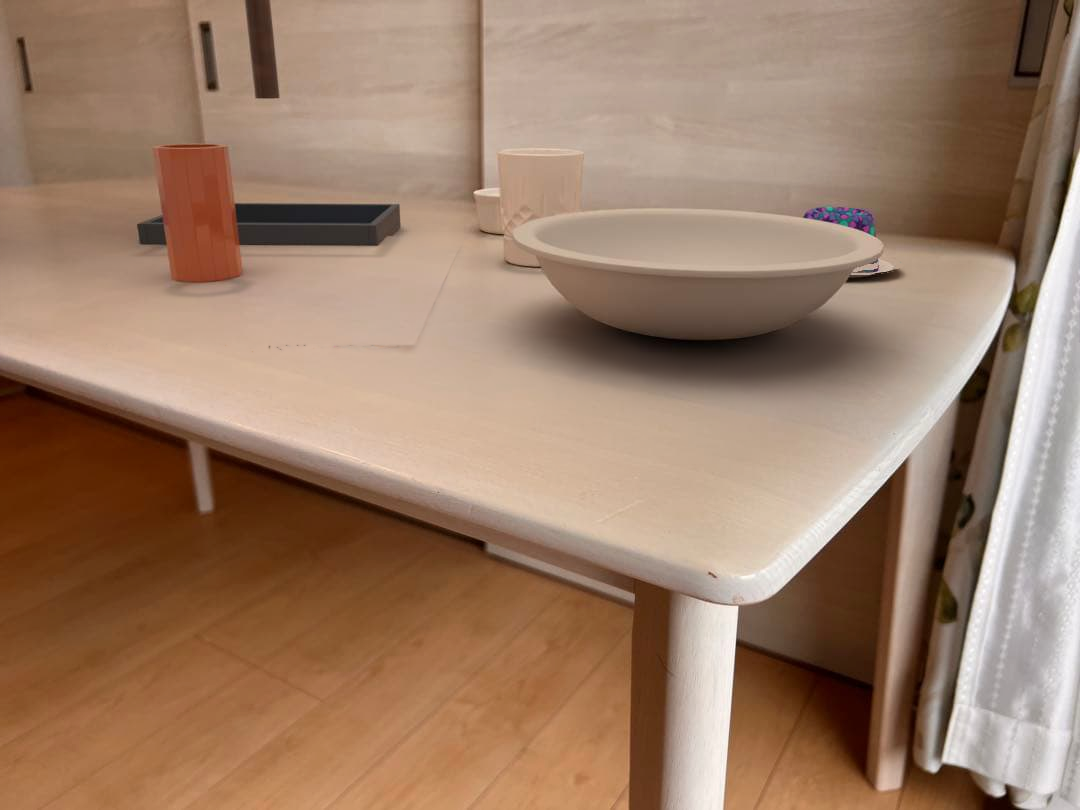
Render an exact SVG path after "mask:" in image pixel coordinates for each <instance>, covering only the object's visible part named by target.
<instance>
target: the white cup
mask: <svg viewBox="0 0 1080 810" xmlns="http://www.w3.org/2000/svg"><path fill="white" fill-rule="evenodd" d="M584 158H585V152H584V151H582V150H577V149H570V148H569V149H567V148H545V147H543V148H540V147H538V148H533V147H531V148H529V147H528V148H526V147H525V148H507V149H500V150H498V151H497V166H498V188H499V189H500V207H501V213H502V217H501V222H502V229H503V233H504V234H503V258H504V260H505V261H506V262H508V264H512V265H516V266H522V267H538V268H539V267H540V268H541V266H540V265H539V263H538V260H537V258H536V256H535V255H533V254H530V253H528V252H526V251H524V250H522V249H520V248H519V247H517V246H516V245H515V244H514V242H513V239H512V234H513V231H514V230H515V229H516V228H517V227H518V226H520V225H522V224H524V223H527V222H530V221H532V220H536V219H540V218H544V217H549V216H554V215H560V214H567V213H575V212H581V203H582V191H583V190H582V188H583V172H584Z"/></svg>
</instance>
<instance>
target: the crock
mask: <svg viewBox="0 0 1080 810" xmlns="http://www.w3.org/2000/svg"><path fill="white" fill-rule="evenodd" d="M151 149H152V152H153V153H152V154H153V155H152V156H153V161H154V169H155V175H156V182H157V188H158V195H159V202H160V208H161V215H162V216H163V223H164V230H165V237H166V243H167V245H166V250H167V257H168V263H169V269H170V277H171V279H172V280H173V281H176V282H181V283H195V284H196V283H197V284H199V283H214V282H223V281H228V280H233V279H236V278H239V277H241V276H243V273H244V271H243V261H242V253H241V245H240V244H239V236H238V227H237V219H236V210H235V203H236V202H235V193H234V185H233V177H232V169H231V168H232V167H231V161H230V160H231V159H230V152H229V146H228V145H227V144H224V143H205V142H204V143H200V142H199V143H192V142H191V143H169V144H167V143H166V144H158V145H153V146H152V147H151Z"/></svg>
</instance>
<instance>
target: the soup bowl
mask: <svg viewBox="0 0 1080 810" xmlns="http://www.w3.org/2000/svg"><path fill="white" fill-rule="evenodd" d="M512 239H513V242H514V244H515V245H516V246H517V247H519V248H520V249H522V250H524V251H526V252H528V253H530V254H533V255H535V256H536V258H537V260H538V263H539V265H540V266H541V267H540V268H541V270H542V272H543V273H544V275H545V277H546V278H547V280H548V281H549V282H550V284H551V286H553V288H554V289H555V290H556V291H557V292H558V294H560V295H561V296H562V297H563V298H564V299H565V300H566V301H567V302H569V303H570V304H571V305H572V306H573V307H574V308H576V310H578V311H580V312H581V313H583V314H584V315H586V316H588V317H589V318H592V319H594V320H596V321H597V322H600V323H603V324H604V325H607V326H610V327H613V328H616V329H619V330H622V331H626V332H630V333H634V334H638V335H643V336H650V337H654V338H655V337H656V338H662V339H673V340H685V341H686V340H688V341H693V340H694V341H718V340H719V341H720V340H733V339H741V338H742V339H743V338H748V337H754V336H759V335H764V334H768V333H772V332H775V331H778V330H781V329H784V328H786V327H789V326H791V325H793V324H795V323H798V322H799V321H801V320H803V319H805V318H807V317H808V316H809V315H811V314H813V313H815V312H816V311H817V310H818V309H820V308H821V307H822V306H823V305H825V304H826V303H827V302H829V300H831V299H832V298H833V297H834V296H835V295H836V294H837V293H838V292H839V290H840V289H841V288H842V287H843V286H844V284H845V283H846V282H847V280H848V279H849V278H850V277H849V276H850V275H851V273H852V272H853V270H854V269H855V268H857V267H861V266H864V265H867V264H870V263H872V262H874V261H876V260H877V259H879V258H880V257H881V256H882V255H884V252H885V246H884V244H883V241H881V240H880V239H879V238H878V237H877V236H876V237H874V236H872V235H870V234H868V233H866V232H863V231H860V230H857V229H854V228H851V227H847V226H843V225H839V224H834V223H830V222H825V221H819V220H813V219H807V218H803V217H799V216H793V215H784V214H776V213H767V212H756V211H743V210H729V209H711V208H710V209H709V208H682V207H681V208H678V207H676V208H675V207H673V208H671V207H668V208H667V207H654V208H653V207H649V208H647V207H645V208H615V209H599V210H598V209H597V210H587V211H580V212H575V213H567V214H560V215H554V216H549V217H544V218H540V219H536V220H532V221H530V222H527V223H524V224H522V225H520V226H518V227H517V228H516V229H515V230H514V231H513V234H512Z"/></svg>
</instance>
